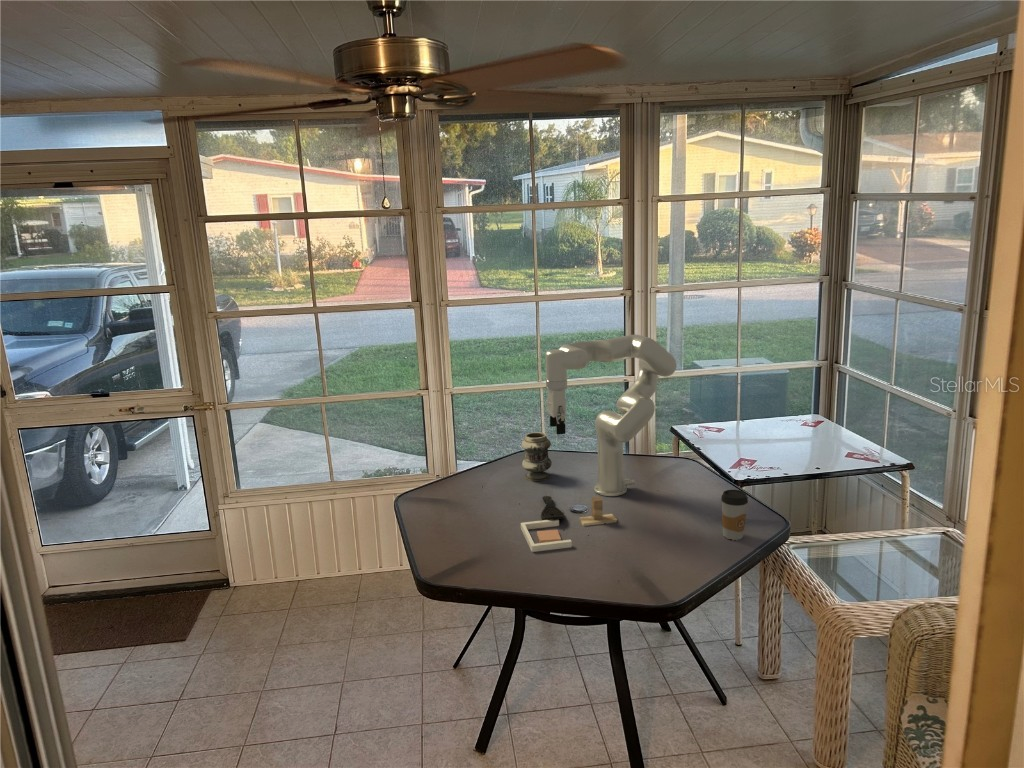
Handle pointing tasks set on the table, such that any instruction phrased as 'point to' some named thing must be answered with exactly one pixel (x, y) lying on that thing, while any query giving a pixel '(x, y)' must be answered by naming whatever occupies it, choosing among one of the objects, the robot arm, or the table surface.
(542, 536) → the tile
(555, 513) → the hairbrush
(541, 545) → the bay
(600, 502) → the tan l-shaped bookend
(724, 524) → the coffee cup
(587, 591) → the table surface
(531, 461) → the carved stone vase
